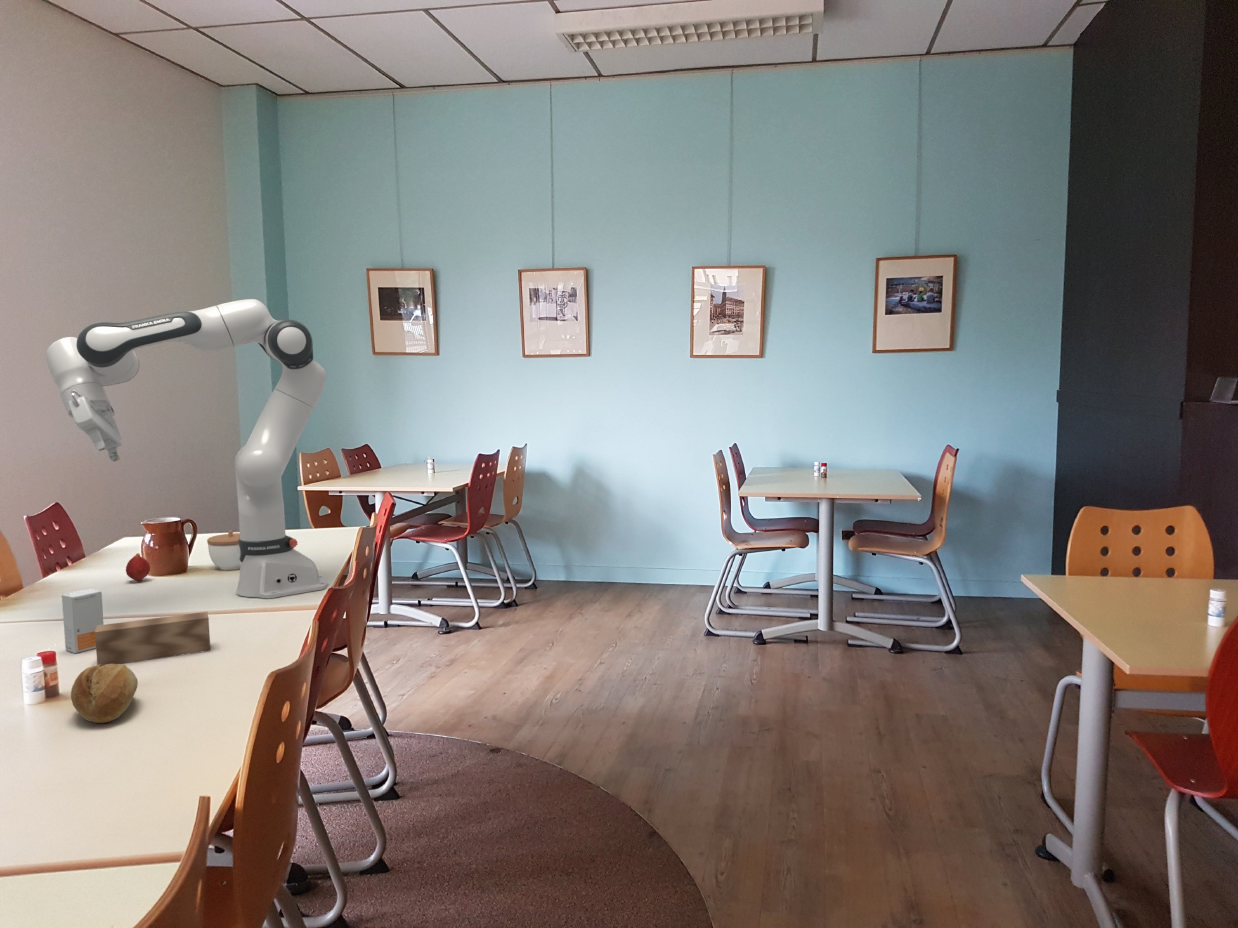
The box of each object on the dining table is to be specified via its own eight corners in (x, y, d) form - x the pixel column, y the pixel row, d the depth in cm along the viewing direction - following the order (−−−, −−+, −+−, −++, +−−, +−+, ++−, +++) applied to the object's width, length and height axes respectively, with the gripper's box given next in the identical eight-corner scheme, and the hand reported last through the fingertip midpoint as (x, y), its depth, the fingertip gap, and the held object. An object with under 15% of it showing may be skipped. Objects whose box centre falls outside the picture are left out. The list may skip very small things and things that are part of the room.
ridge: (209, 643, 179) (207, 611, 178) (210, 650, 174) (208, 617, 174) (99, 659, 169) (96, 625, 169) (97, 666, 165) (94, 632, 164)
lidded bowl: (264, 565, 251) (262, 529, 250) (225, 574, 240) (223, 536, 239) (239, 560, 258) (237, 525, 257) (200, 569, 247) (197, 532, 246)
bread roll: (68, 734, 134) (64, 686, 133) (77, 702, 147) (74, 658, 147) (137, 722, 139) (133, 675, 138) (140, 692, 152) (137, 649, 151)
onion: (126, 585, 229) (124, 556, 228) (127, 580, 234) (125, 552, 233) (150, 582, 231) (148, 554, 231) (151, 578, 237) (149, 550, 236)
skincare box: (75, 654, 173) (70, 597, 171) (65, 650, 175) (60, 594, 174) (106, 645, 178) (102, 590, 176) (95, 642, 180) (91, 587, 179)
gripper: (84, 382, 188) (107, 436, 186) (115, 411, 207) (136, 460, 205) (54, 393, 186) (77, 447, 184) (88, 421, 205) (109, 471, 204)
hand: (109, 454), depth 195 cm, fingers open, 8 cm apart
